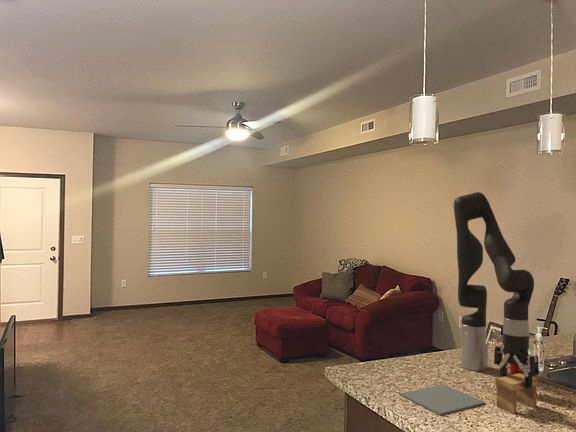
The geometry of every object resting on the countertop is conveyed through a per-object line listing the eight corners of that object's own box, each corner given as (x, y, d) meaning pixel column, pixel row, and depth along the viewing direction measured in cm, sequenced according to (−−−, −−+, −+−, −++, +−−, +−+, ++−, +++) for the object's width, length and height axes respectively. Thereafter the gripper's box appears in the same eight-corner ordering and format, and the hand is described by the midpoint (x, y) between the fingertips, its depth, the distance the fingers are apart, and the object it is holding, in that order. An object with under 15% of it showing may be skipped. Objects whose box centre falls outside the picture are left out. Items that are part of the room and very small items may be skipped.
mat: (443, 385, 165) (443, 384, 165) (485, 404, 149) (485, 402, 149) (399, 395, 155) (399, 393, 155) (439, 415, 139) (439, 413, 139)
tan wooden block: (520, 400, 152) (520, 373, 152) (537, 407, 147) (537, 378, 147) (495, 406, 146) (495, 378, 146) (512, 414, 141) (512, 384, 141)
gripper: (544, 336, 142) (544, 389, 142) (504, 326, 155) (504, 375, 154) (528, 338, 139) (528, 393, 138) (488, 328, 151) (488, 378, 151)
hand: (515, 383), depth 146 cm, fingers open, 8 cm apart
